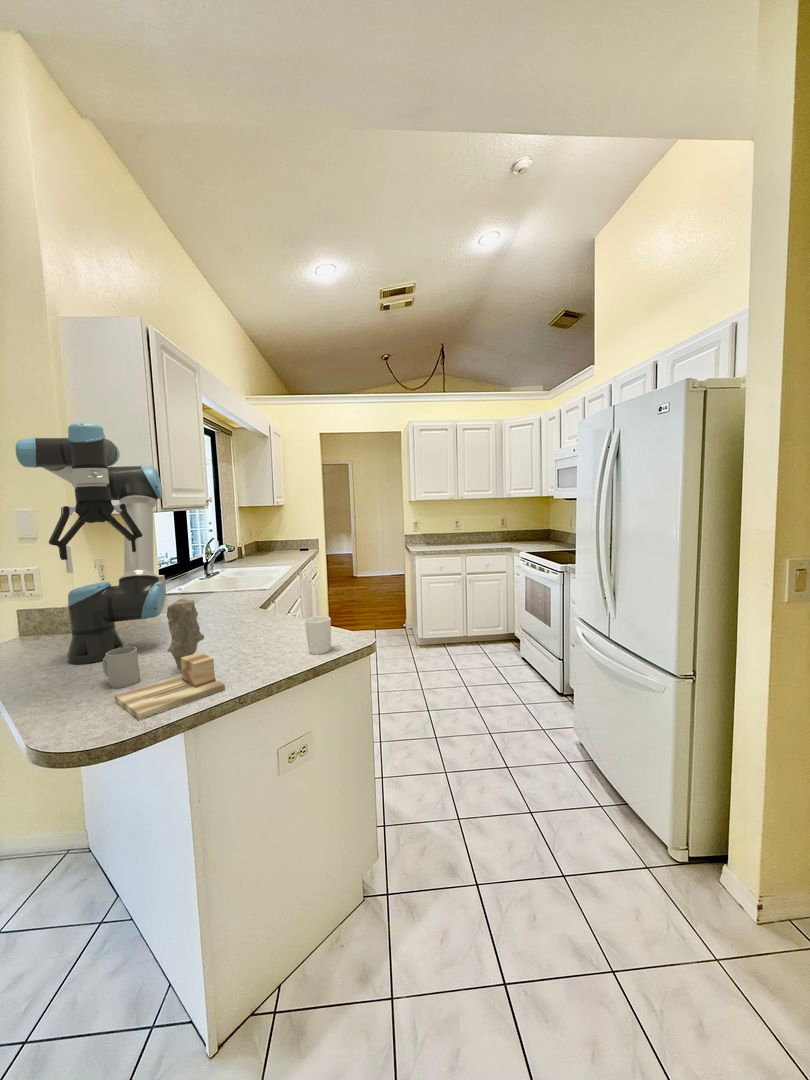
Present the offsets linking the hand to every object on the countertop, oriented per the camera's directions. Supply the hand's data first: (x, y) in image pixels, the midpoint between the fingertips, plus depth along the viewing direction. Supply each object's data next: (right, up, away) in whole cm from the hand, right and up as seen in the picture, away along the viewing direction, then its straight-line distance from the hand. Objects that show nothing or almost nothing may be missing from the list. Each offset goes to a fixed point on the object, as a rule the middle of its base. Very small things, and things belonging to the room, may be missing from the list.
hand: (101, 568), depth 121 cm
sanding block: (+25, -29, 0) cm, 38 cm away
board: (+20, -31, -5) cm, 38 cm away
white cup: (+52, -27, +24) cm, 64 cm away
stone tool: (+16, -30, +14) cm, 37 cm away
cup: (+1, -32, +6) cm, 32 cm away
